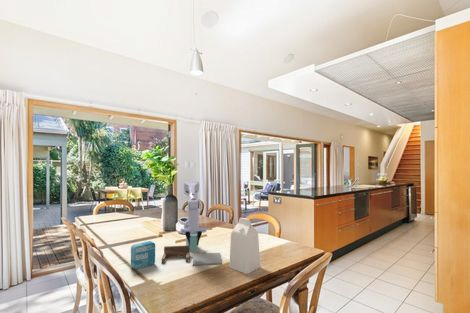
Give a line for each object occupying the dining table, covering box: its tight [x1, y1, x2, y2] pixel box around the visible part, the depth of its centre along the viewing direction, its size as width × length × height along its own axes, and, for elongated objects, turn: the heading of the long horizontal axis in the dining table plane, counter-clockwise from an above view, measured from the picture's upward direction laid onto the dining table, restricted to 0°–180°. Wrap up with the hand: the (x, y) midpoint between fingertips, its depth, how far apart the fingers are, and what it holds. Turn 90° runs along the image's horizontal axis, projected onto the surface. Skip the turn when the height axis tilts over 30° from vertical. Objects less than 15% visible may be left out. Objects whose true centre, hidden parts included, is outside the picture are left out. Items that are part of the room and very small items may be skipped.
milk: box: [229, 217, 261, 275], centre depth 133 cm, size 12×12×26 cm
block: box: [190, 234, 198, 253], centre depth 142 cm, size 6×4×8 cm, turn 7°
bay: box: [161, 244, 191, 264], centre depth 145 cm, size 10×15×6 cm
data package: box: [130, 240, 156, 270], centre depth 136 cm, size 12×4×12 cm, turn 134°
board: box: [192, 252, 222, 267], centre depth 144 cm, size 16×16×1 cm
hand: (193, 244), depth 141 cm, fingers closed on block, 4 cm apart
